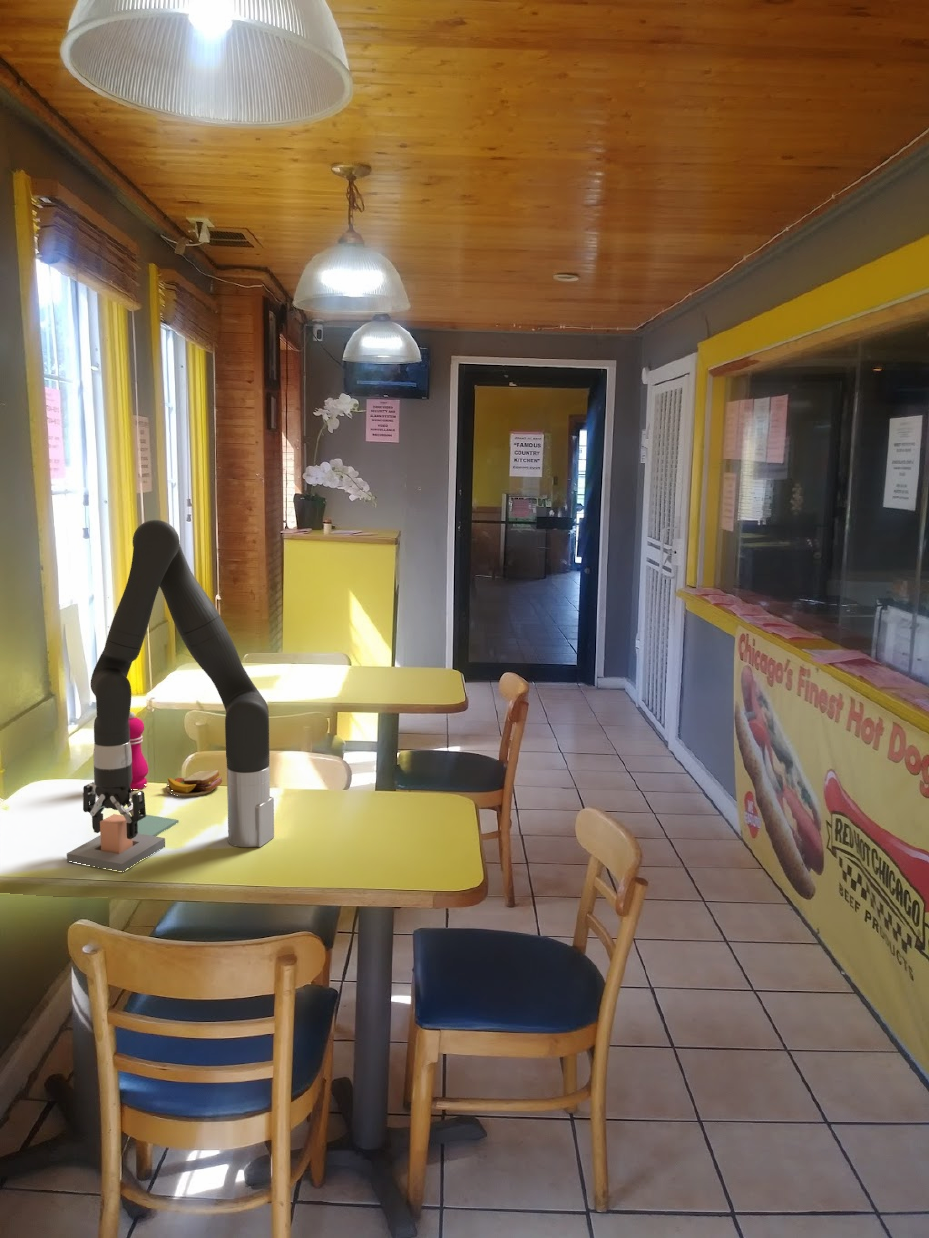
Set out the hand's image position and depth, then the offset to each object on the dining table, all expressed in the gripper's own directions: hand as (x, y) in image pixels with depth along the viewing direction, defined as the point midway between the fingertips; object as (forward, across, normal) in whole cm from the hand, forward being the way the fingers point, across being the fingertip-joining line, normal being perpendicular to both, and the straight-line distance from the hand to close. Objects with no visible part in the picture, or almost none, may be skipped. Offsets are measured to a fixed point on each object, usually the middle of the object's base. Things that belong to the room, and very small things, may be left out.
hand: (115, 834), depth 195 cm
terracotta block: (+4, 0, 0) cm, 5 cm away
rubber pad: (+4, +4, -14) cm, 15 cm away
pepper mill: (+5, +23, -35) cm, 42 cm away
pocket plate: (+4, 0, 0) cm, 4 cm away
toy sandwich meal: (+5, +8, -40) cm, 41 cm away
